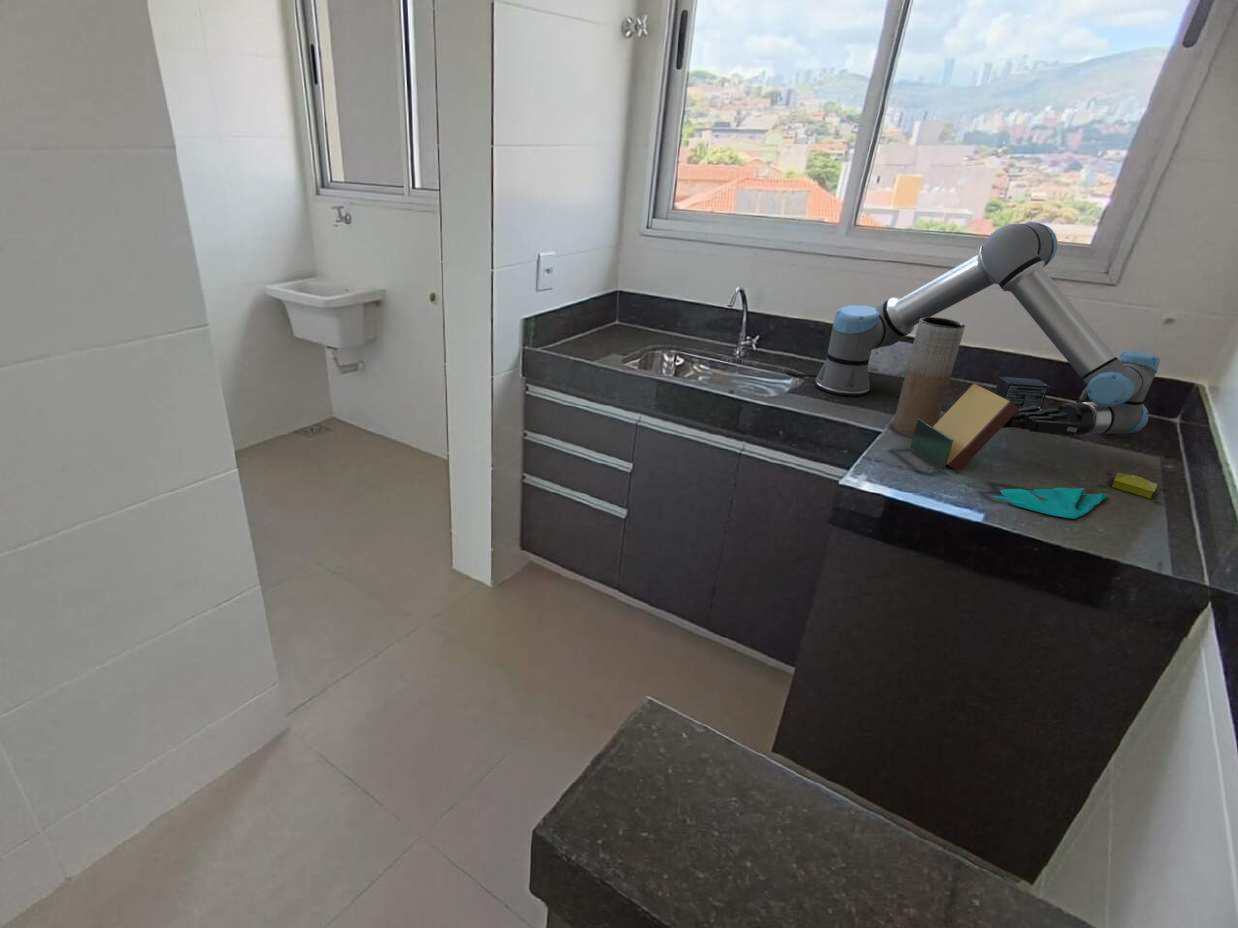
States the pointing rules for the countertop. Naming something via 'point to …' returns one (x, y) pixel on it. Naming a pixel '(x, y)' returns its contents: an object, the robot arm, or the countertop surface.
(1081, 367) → the robot arm
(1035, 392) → the small box
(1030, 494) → the cloth
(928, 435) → the bookend
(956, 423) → the book
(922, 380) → the vase
